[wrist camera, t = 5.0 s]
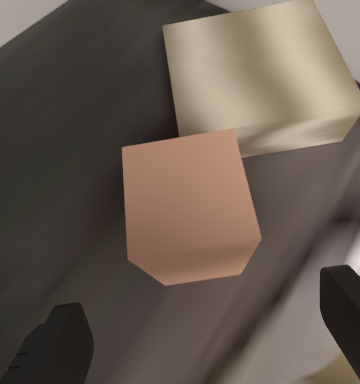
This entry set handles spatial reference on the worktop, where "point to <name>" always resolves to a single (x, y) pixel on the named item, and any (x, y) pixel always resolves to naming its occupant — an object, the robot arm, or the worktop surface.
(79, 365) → the robot arm
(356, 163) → the worktop surface
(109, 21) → the worktop surface
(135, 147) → the terracotta block
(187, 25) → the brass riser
